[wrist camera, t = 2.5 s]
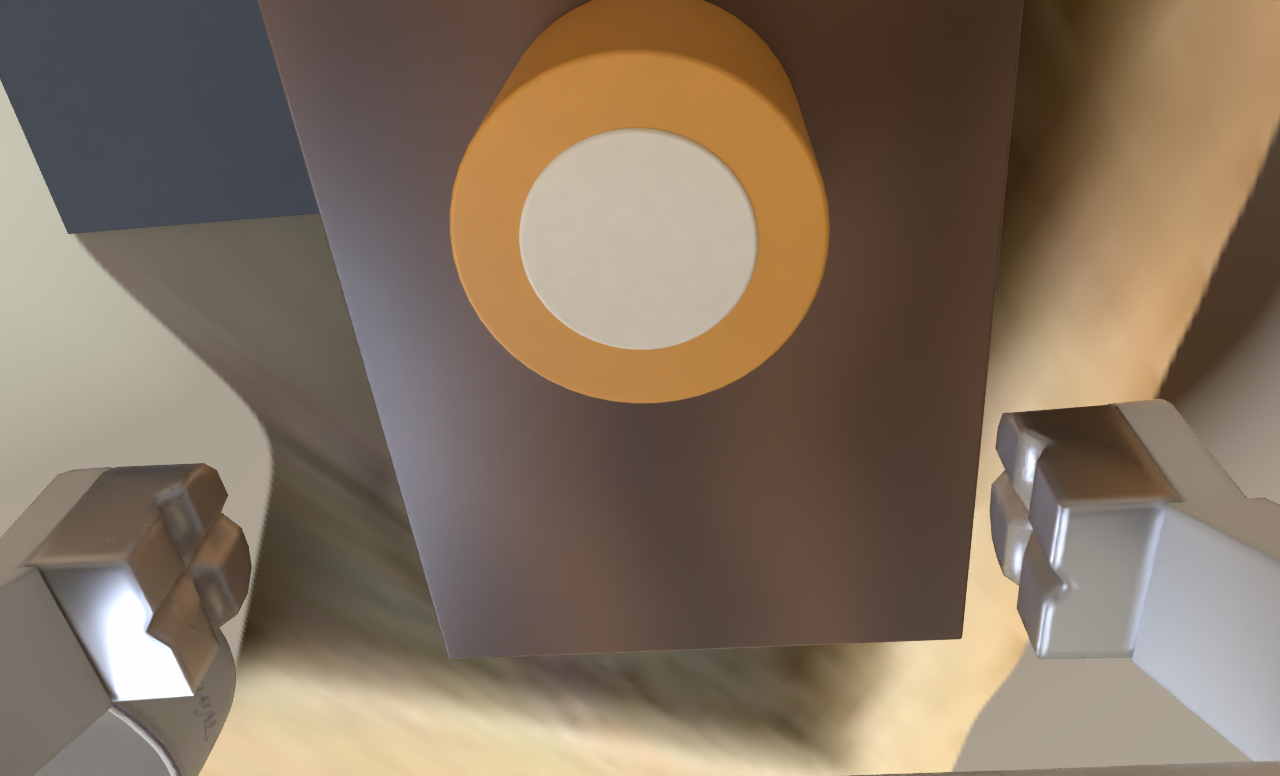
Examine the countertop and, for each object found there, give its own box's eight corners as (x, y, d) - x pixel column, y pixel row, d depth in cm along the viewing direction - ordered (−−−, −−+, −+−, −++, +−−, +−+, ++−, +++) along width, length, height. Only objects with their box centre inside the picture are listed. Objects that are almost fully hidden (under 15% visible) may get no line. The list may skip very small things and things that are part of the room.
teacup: (235, 726, 48) (159, 883, 41) (5, 656, 46) (-114, 809, 39) (299, 526, 41) (222, 676, 34) (32, 434, 39) (-107, 573, 32)
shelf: (908, -244, 26) (1049, -255, 16) (886, 397, 36) (962, 640, 26) (391, -182, 27) (210, -155, 17) (513, 420, 38) (447, 660, 27)
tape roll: (799, -28, 18) (831, 30, 14) (804, 276, 21) (831, 396, 17) (470, 5, 18) (409, 70, 14) (524, 296, 21) (486, 417, 17)
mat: (310, -216, 27) (305, -215, 26) (410, 201, 33) (407, 206, 33) (-98, -165, 28) (-107, -164, 28) (73, 229, 34) (67, 234, 34)
